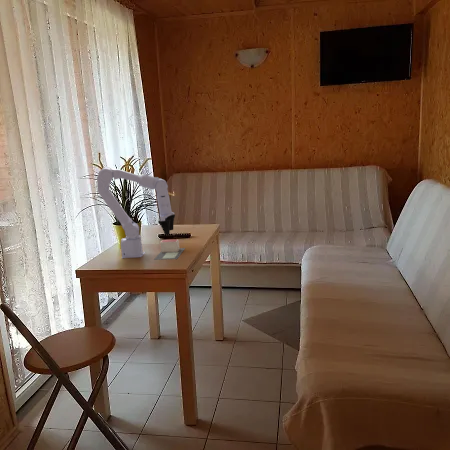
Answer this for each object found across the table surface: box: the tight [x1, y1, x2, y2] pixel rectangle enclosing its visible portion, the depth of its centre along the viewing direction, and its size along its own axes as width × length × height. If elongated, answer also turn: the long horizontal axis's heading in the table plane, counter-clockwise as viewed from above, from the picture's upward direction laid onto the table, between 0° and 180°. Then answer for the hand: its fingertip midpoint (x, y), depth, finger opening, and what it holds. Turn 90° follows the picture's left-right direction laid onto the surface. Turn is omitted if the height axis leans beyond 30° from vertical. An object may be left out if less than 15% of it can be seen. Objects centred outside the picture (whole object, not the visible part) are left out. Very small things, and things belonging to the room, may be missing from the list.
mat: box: [153, 247, 186, 261], centre depth 210 cm, size 11×18×1 cm, turn 173°
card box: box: [159, 238, 180, 252], centre depth 214 cm, size 8×4×5 cm, turn 83°
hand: (169, 232), depth 213 cm, fingers open, 7 cm apart
